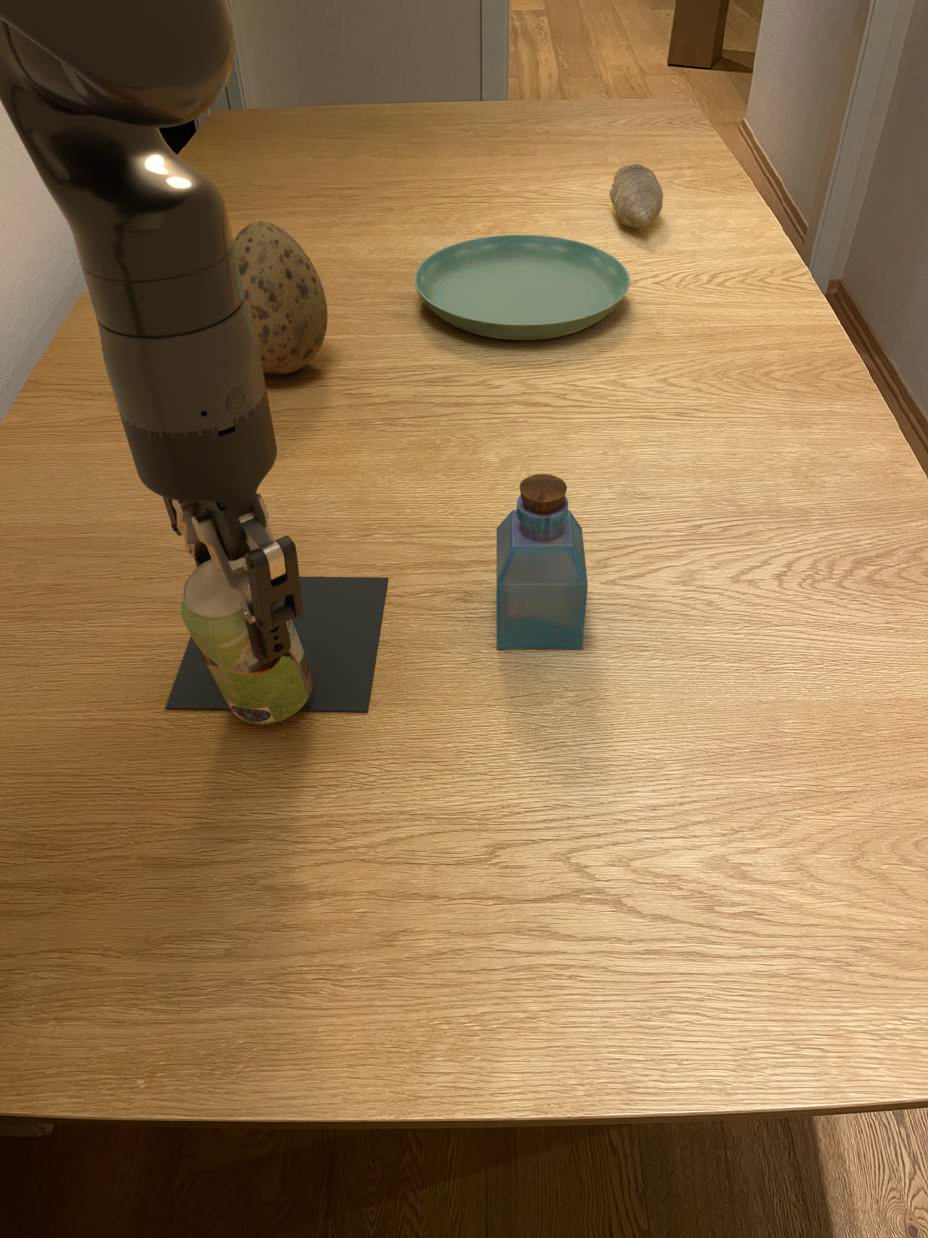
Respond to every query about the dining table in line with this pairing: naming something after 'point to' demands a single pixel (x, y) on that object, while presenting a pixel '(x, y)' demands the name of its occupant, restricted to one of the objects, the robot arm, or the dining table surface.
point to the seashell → (636, 195)
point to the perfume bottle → (541, 570)
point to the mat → (312, 648)
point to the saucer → (521, 286)
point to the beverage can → (242, 652)
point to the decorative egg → (281, 297)
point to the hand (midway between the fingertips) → (248, 625)
